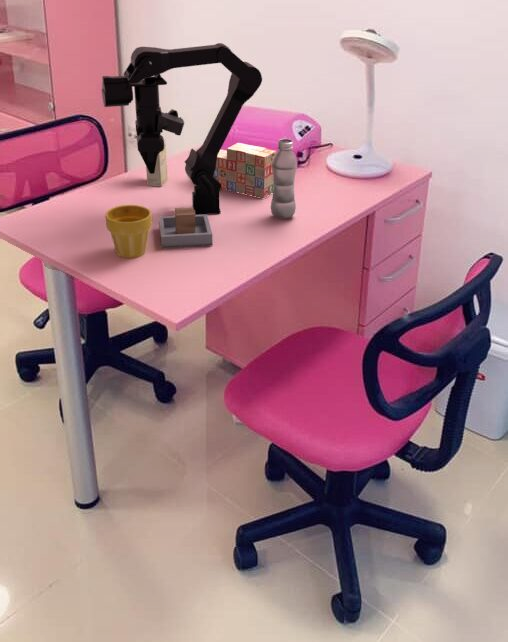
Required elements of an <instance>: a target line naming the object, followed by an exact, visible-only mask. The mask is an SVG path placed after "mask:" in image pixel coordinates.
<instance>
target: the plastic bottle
mask: <svg viewBox="0 0 508 642" xmlns="http://www.w3.org/2000/svg"><path fill="white" fill-rule="evenodd" d="M293 144H294V140H292V139H290V138H280V139H278V141H277V151H276V154H275V156H274V157H273V160H272V168H273V181H274V188H273V194H272V199H271V202H270V213H271V214H272V216H273V217H274V218H276V219H282V220H283V219H284V220H285V219H290V218H291V217H293V216H294V215H295V214H296V209H297V208H296V199H295V182H296V181H295V180H296V173H297V167H298V159H297V156H296V155H295V152H293V149H294V145H293Z"/></svg>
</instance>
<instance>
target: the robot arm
mask: <svg viewBox="0 0 508 642" xmlns="http://www.w3.org/2000/svg"><path fill="white" fill-rule="evenodd" d="M213 64H221V65H222V66H223V67H224V68H225V69H227V70H228V71H229V72H230V73H231V75H230V76H229V77H230V78H229V82H228V86H227V87H228V89H227V94H226V97H225V99H224V101H223V103H222V105H221V106H220V109H219V111H218V113H217V115H216V117H215V119H214V121H213V123H212V125H211V127H210V129H209V131H208V132H207V136H206V137H205V138H204V141H203V143H202V145H201V146H200V147H199V148H198V149H197V150H195V149H194V148H190V152H189V154H188V156H187V158H186V160H184V164H185V166H184V171H185V173H186V175H187V177H188V178H189V180H190V181H191V183H192V184H193V187H194V188H193V189H194V191H192V192H191V197H192V207H193V208H194V213H195V215H205V214H207V215H218V214H219V213H220V214H221V212H222V211H221V207H220V191H221V190H222V189H221V186H222V185H221V183H220V182H219V181H218V180H217V178H216V177H215V176H214V172H215V169H216V162H217V156H218V153H219V151H220V149H221V150H222V147H223V145H224V143H225V141H226V139H227V137H228V135H229V133H230V132H231V129H232V128H233V125H234V124H235V121H236V119H237V118H238V116H239V114H240V112H241V109H242V108H243V107H244V105H245V103H247V102H248V101H249V100H250V99H251V98H252V97H253V96H254V95H255V94H256V92H257V91H258V89H259V88H260V86H261V85H262V82H263V76H262V72H261V71H260V69H258V68H257V67H256V66H254V65H253V64H251V63H250V62H248V61H243V60H242V59H241V58H239V57H238V55H236V54H235V53H234V52H233V51H232V50H231V48H230V47H229V46H227V45H226V44H224V43H221V42H218V43H216V44H210V45H209V44H208V45H199V46H190V47H182V48H181V47H180V48H173V49H168V48H161V47H154V46H153V47H152V46H139V47H136V48H134V50H133V52H132V53H131V56H130V62H129V64H128V66H127V67H126V68H125V70H124V72H123V75H117V76H116V75H115V76H112V75H111V76H110V75H105V76H104V75H102V78H101V79H102V83H101V84H102V85H101V96H102V103H103V106H104V108H109V107H112V108H113V107H127V106H128V107H129V106H130V104H131V103H132V101H133V100H134V102H135V105H134V106H135V117H136V120H135V122H134V123H135V132H136V136H137V137H136V142H137V143H136V144H137V145H136V146H137V151H138V153H139V155H140V156H141V158H142V160H143V163H144V165H145V168H146V167H147V169H148V171H149V173H150V174H154V173H155V167H156V161H157V155H158V154H159V153H160V152H162V151H163V150H164V139H165V138H164V136H162V133H163V131H166V132H168V133H169V132H170V133H172V134H174V135H176V136H178V137H179V136H181V134H182V131H183V129H184V126H185V120H184V119H183V118H182V117H181V116H180V117H179V112H178V111H177V110H175V109H173V108H172V109H170V110H169V111H168V112H162V108H161V106H160V91H159V90H160V89H159V86H165V85H167V84H168V81H167V80H166V79H165V78H163V77H162V75H161V74H163V73H166V72H168V71H170V70H172V69H173V70H174V69H178V68H186V67H187V68H189V67H196V66H205V65H213ZM133 89H134V90H133ZM220 214H219V215H220Z"/></svg>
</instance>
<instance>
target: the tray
mask: <svg viewBox="0 0 508 642" xmlns="http://www.w3.org/2000/svg"><path fill="white" fill-rule="evenodd" d="M158 225H159V226H158V227H159V236H160V242H161V243H160V244H161V249H177V248H180V249H181V248H194V247H210V246H209V245H213V243H214V241H213V240H214V239H213V232H212V227H211V224H210V219H209V217H208V214H201V215H196V214H195V233H191V234H176V227H175V215H172V216H170V215H169V216H168V215H167V216H158Z"/></svg>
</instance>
